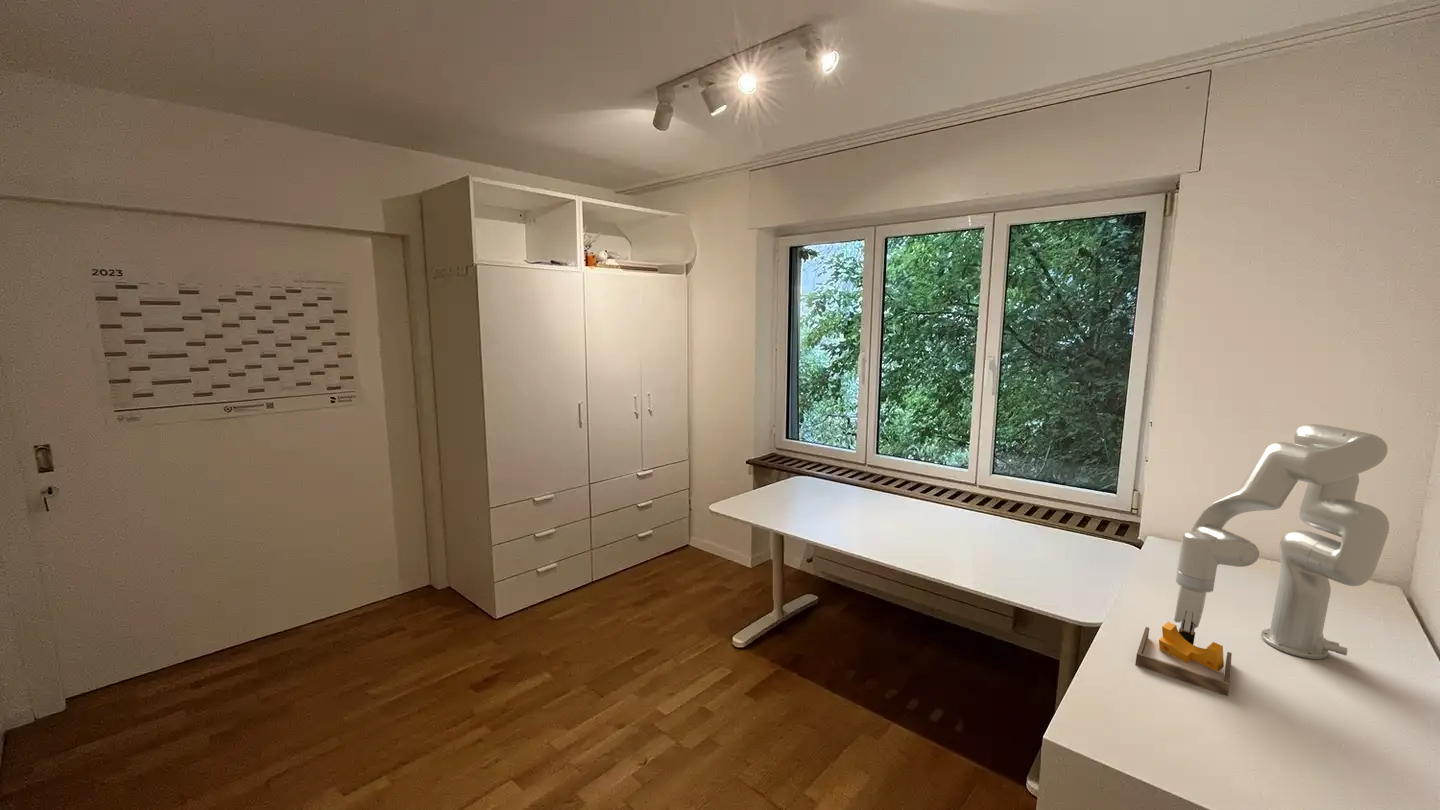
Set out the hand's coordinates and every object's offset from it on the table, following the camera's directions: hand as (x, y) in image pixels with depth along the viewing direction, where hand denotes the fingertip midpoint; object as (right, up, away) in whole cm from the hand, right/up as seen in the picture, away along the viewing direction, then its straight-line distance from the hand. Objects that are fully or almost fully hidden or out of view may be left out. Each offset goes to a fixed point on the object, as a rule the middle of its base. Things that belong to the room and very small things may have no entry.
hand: (1185, 644), depth 149 cm
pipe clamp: (-2, -2, -4) cm, 5 cm away
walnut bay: (-5, -3, -5) cm, 7 cm away
